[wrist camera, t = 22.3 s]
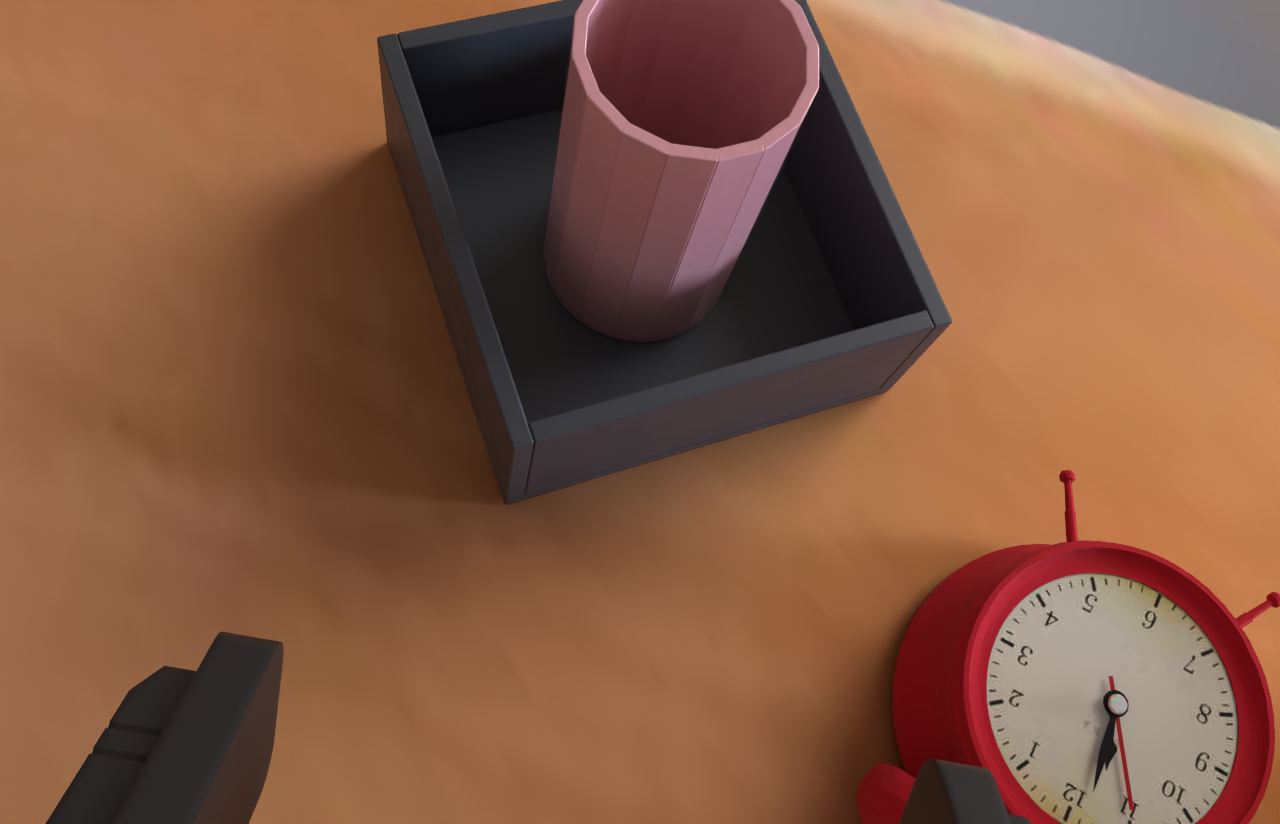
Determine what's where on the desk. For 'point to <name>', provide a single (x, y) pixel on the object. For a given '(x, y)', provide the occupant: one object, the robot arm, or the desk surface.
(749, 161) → the cup
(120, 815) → the robot arm
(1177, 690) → the alarm clock
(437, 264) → the tub
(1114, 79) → the desk surface
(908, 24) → the desk surface
